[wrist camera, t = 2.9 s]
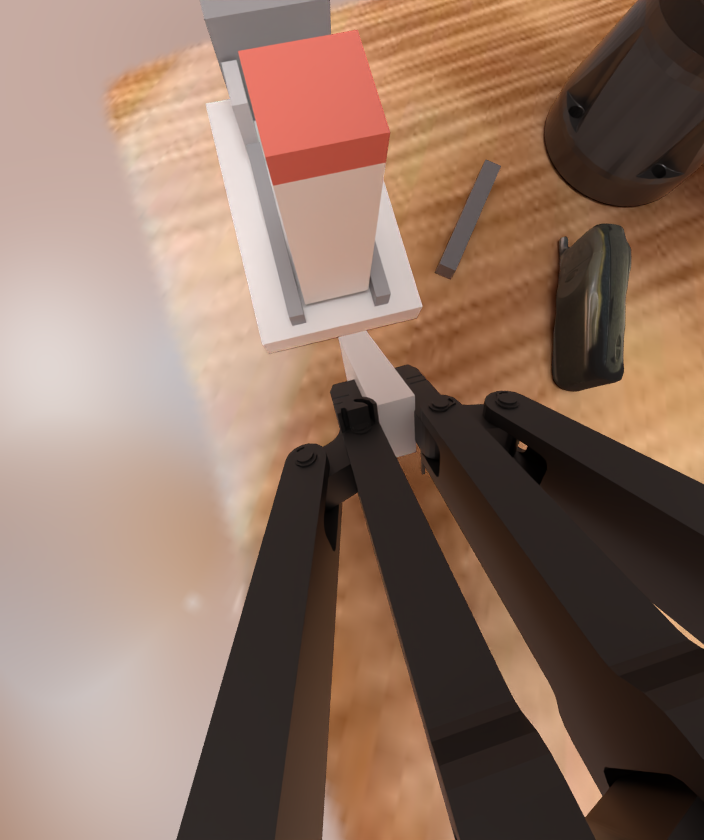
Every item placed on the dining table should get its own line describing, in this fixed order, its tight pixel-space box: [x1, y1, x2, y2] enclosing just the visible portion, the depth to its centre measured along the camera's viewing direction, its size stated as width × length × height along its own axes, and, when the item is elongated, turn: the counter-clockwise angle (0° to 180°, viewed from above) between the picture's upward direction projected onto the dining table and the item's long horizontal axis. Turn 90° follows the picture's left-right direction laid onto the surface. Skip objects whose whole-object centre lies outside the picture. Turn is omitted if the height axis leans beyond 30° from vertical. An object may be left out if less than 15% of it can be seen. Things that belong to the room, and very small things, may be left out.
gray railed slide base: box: [200, 0, 423, 353], centre depth 22 cm, size 24×14×8 cm, turn 15°
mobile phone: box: [552, 224, 631, 391], centre depth 23 cm, size 5×3×15 cm
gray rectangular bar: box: [435, 160, 501, 279], centre depth 26 cm, size 12×2×2 cm, turn 156°
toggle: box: [238, 30, 390, 304], centre depth 17 cm, size 5×5×11 cm
